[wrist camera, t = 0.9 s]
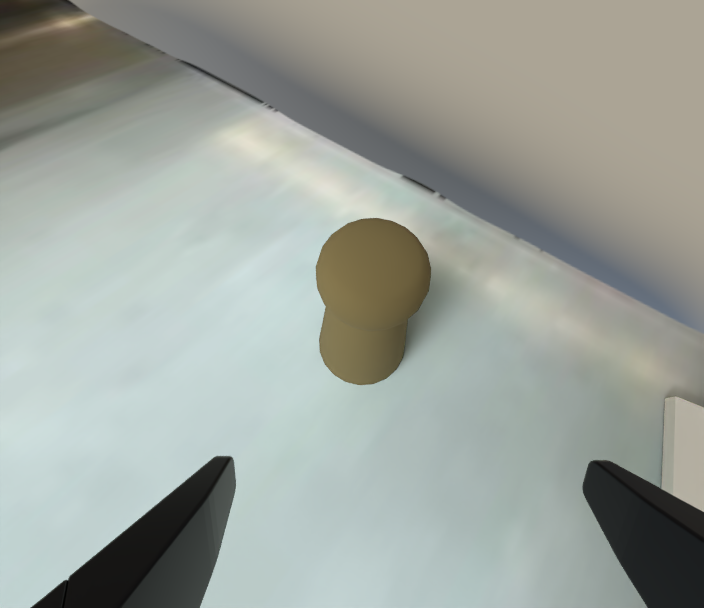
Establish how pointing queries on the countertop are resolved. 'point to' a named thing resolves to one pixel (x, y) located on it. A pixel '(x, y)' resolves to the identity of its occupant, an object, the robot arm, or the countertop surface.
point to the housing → (683, 451)
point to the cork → (369, 297)
